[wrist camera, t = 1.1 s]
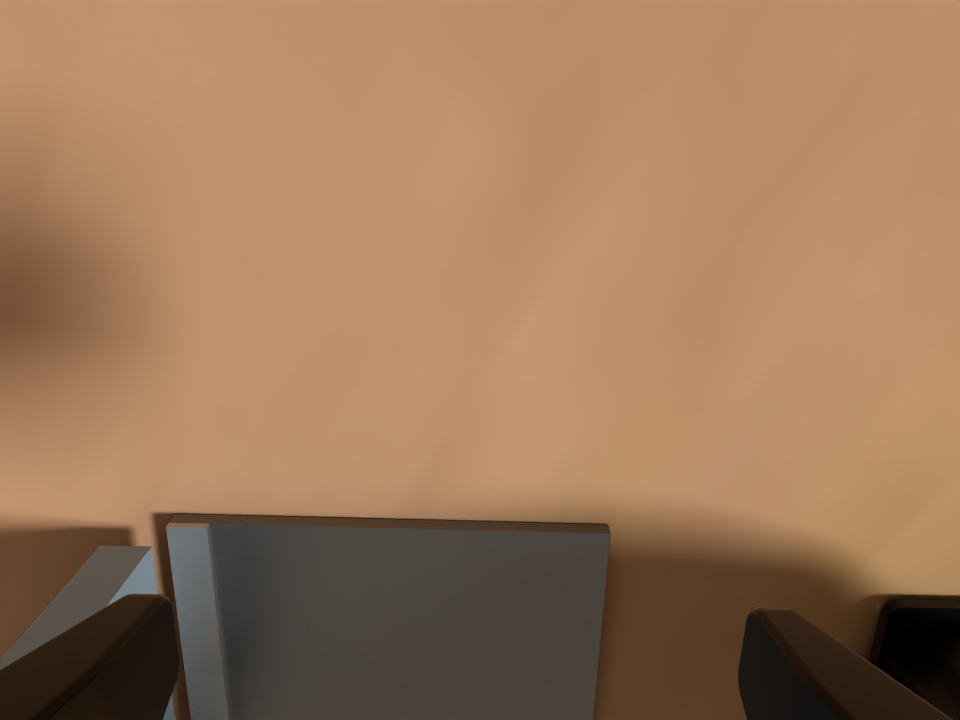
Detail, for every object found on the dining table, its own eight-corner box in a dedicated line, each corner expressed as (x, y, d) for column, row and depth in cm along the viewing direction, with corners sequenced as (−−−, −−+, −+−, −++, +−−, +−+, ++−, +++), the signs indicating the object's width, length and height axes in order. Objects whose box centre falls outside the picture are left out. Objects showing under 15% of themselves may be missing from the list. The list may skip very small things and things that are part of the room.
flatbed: (607, 524, 22) (611, 537, 22) (579, 842, 27) (581, 860, 26) (175, 513, 22) (166, 526, 22) (215, 833, 27) (208, 851, 26)
